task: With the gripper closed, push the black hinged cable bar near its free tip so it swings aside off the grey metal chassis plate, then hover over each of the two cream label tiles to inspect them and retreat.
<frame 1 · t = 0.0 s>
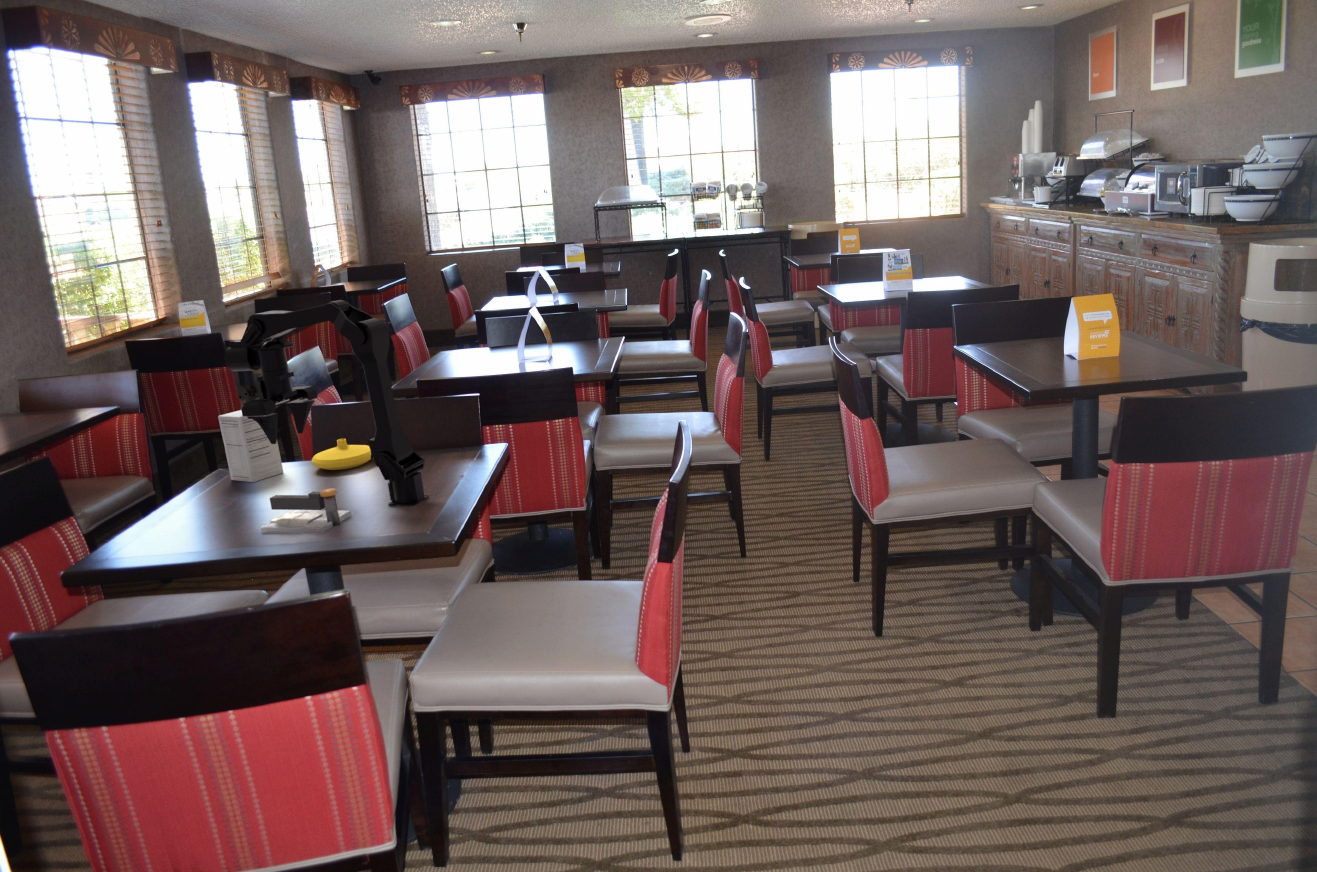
hand: (287, 438, 212), 15 cm above the table, fingers open, 9 cm apart
supplement box: (257, 477, 242), on the table
cable bar: (304, 499, 196), point 5 cm above the table, hinge at 0.0°
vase: (345, 467, 245), on the table
chassis: (307, 524, 198), on the table
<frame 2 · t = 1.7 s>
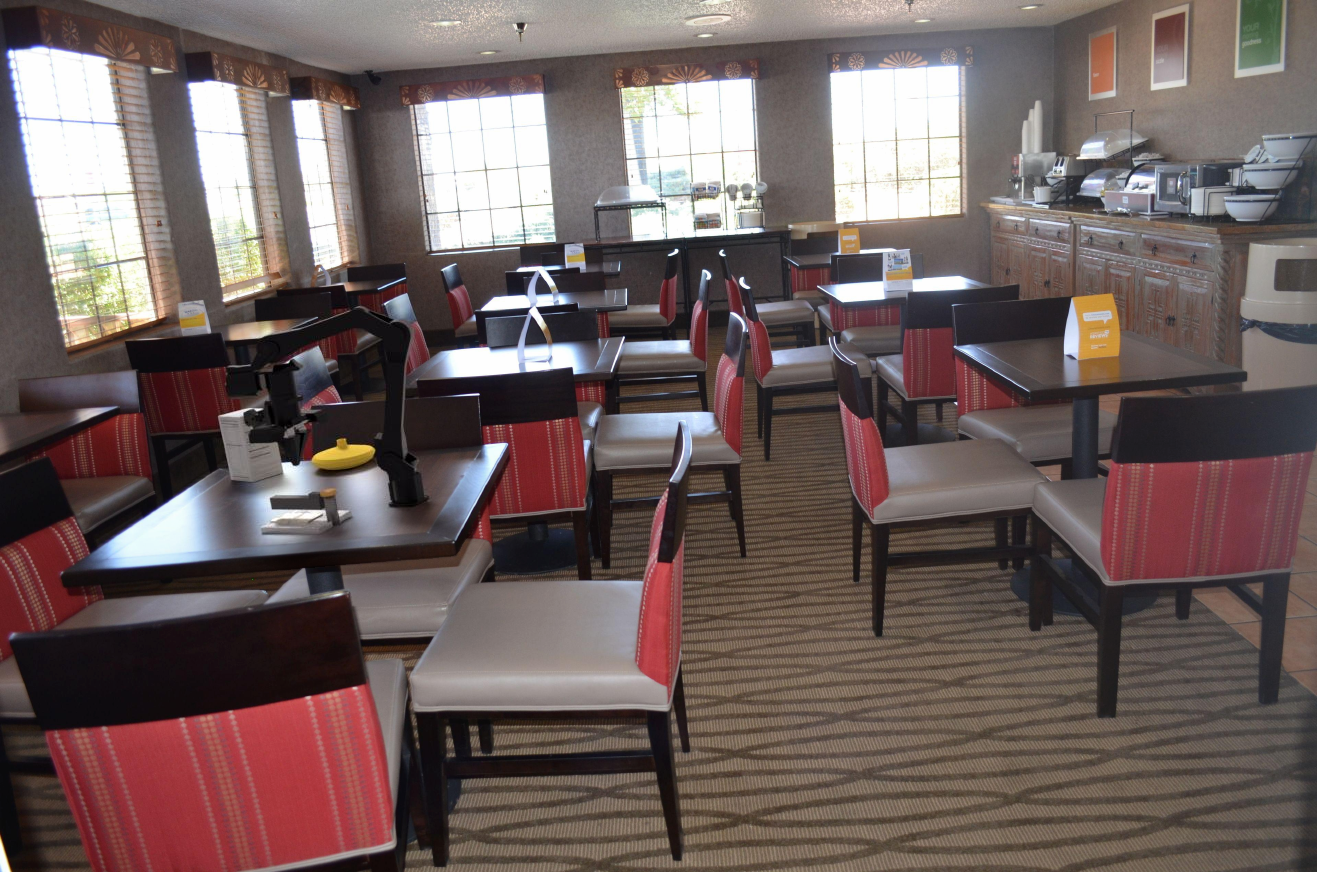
hand: (296, 465, 202), 11 cm above the table, fingers closed
nothing on the table moved.
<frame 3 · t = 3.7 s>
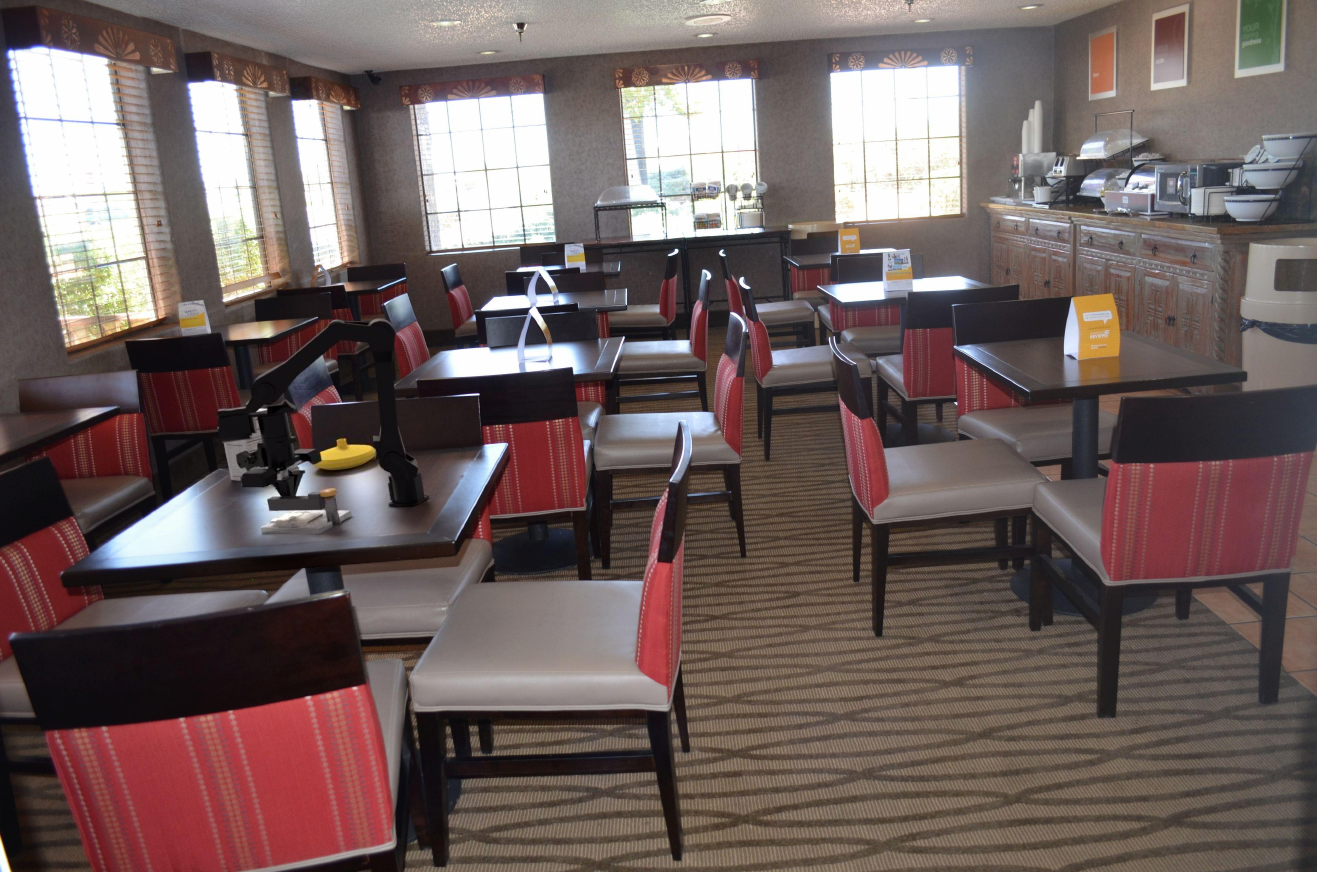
hand: (289, 506, 200), 3 cm above the table, fingers closed
cable bar: (303, 500, 196), point 5 cm above the table, hinge at 3.8°, touching gripper
everything else where it was.
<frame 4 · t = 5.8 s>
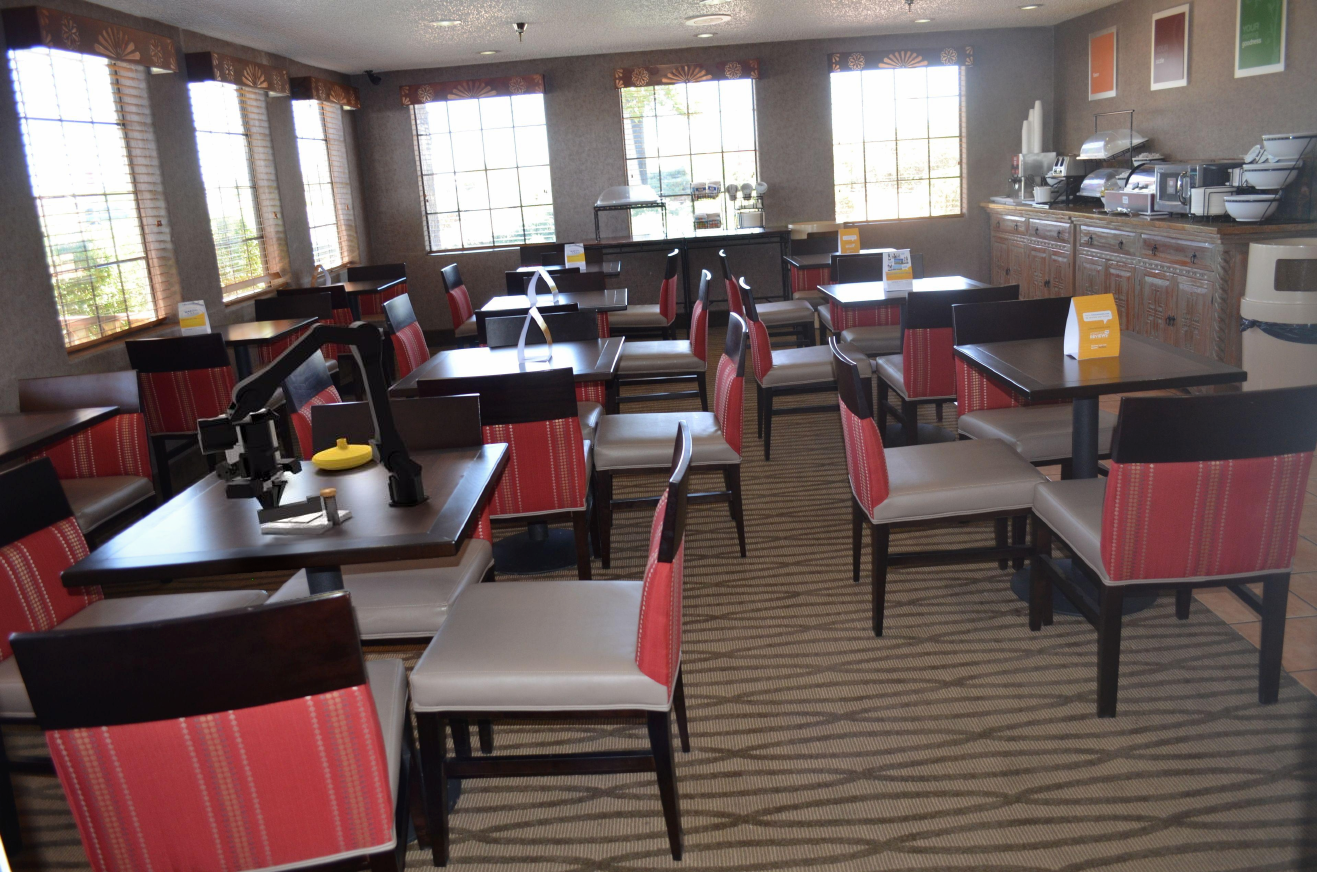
hand: (272, 518, 193), 3 cm above the table, fingers closed
cable bar: (298, 505, 192), point 5 cm above the table, hinge at 42.5°, touching gripper
everything else where it was.
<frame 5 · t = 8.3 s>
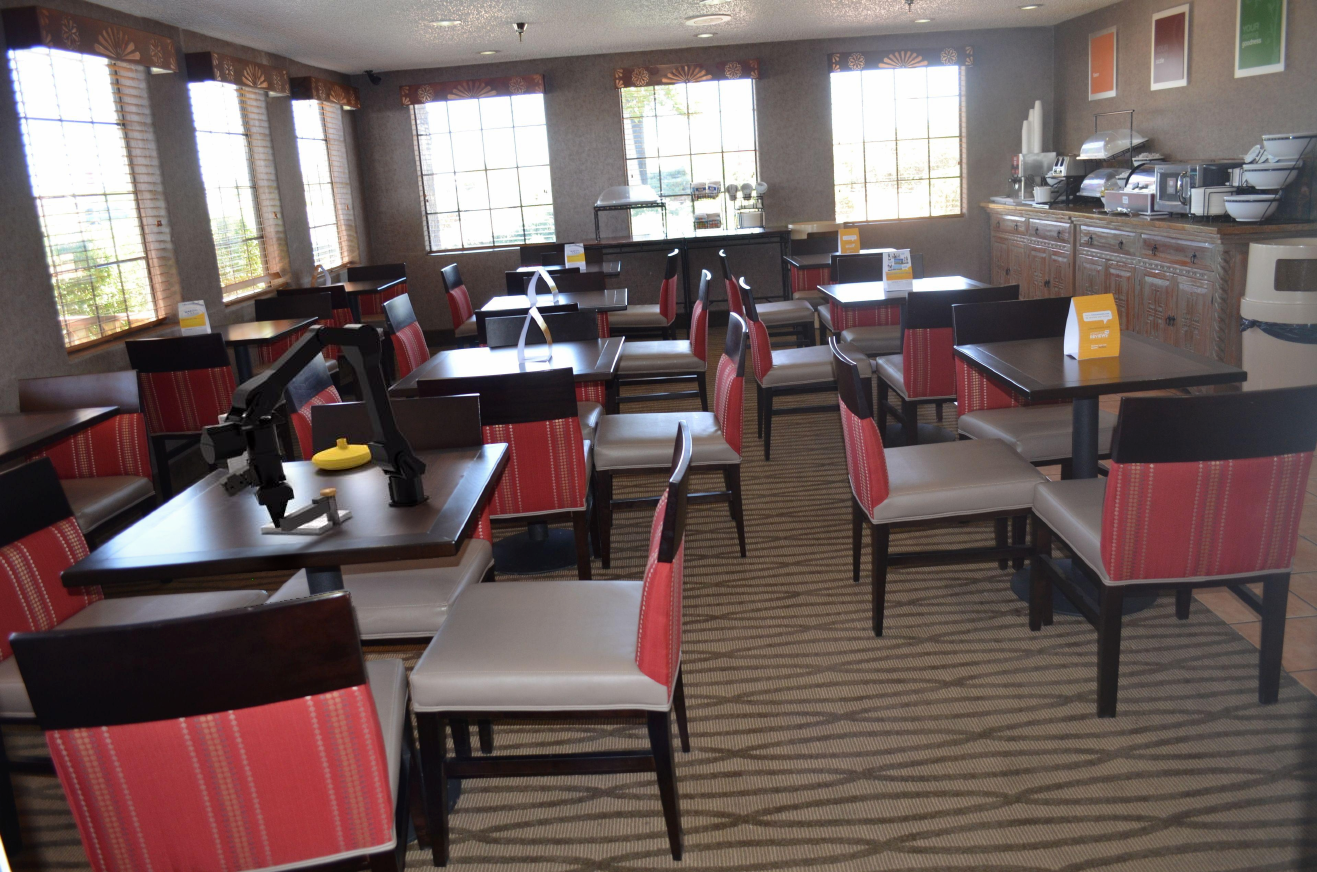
hand: (278, 527, 185), 3 cm above the table, fingers closed
cable bar: (310, 509, 189), point 5 cm above the table, hinge at 88.2°
everything else where it was.
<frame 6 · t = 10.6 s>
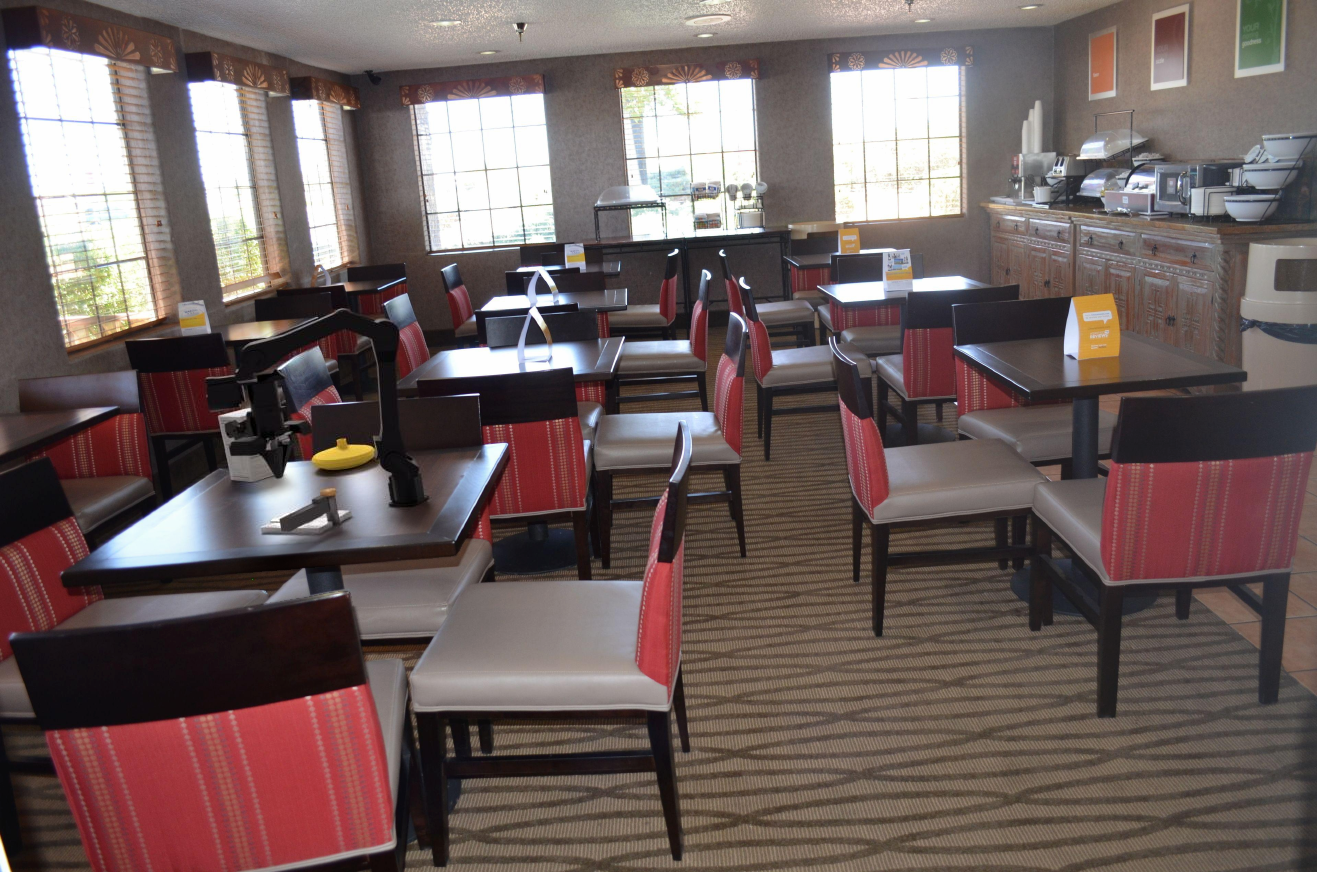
hand: (279, 478, 197), 10 cm above the table, fingers closed
nothing on the table moved.
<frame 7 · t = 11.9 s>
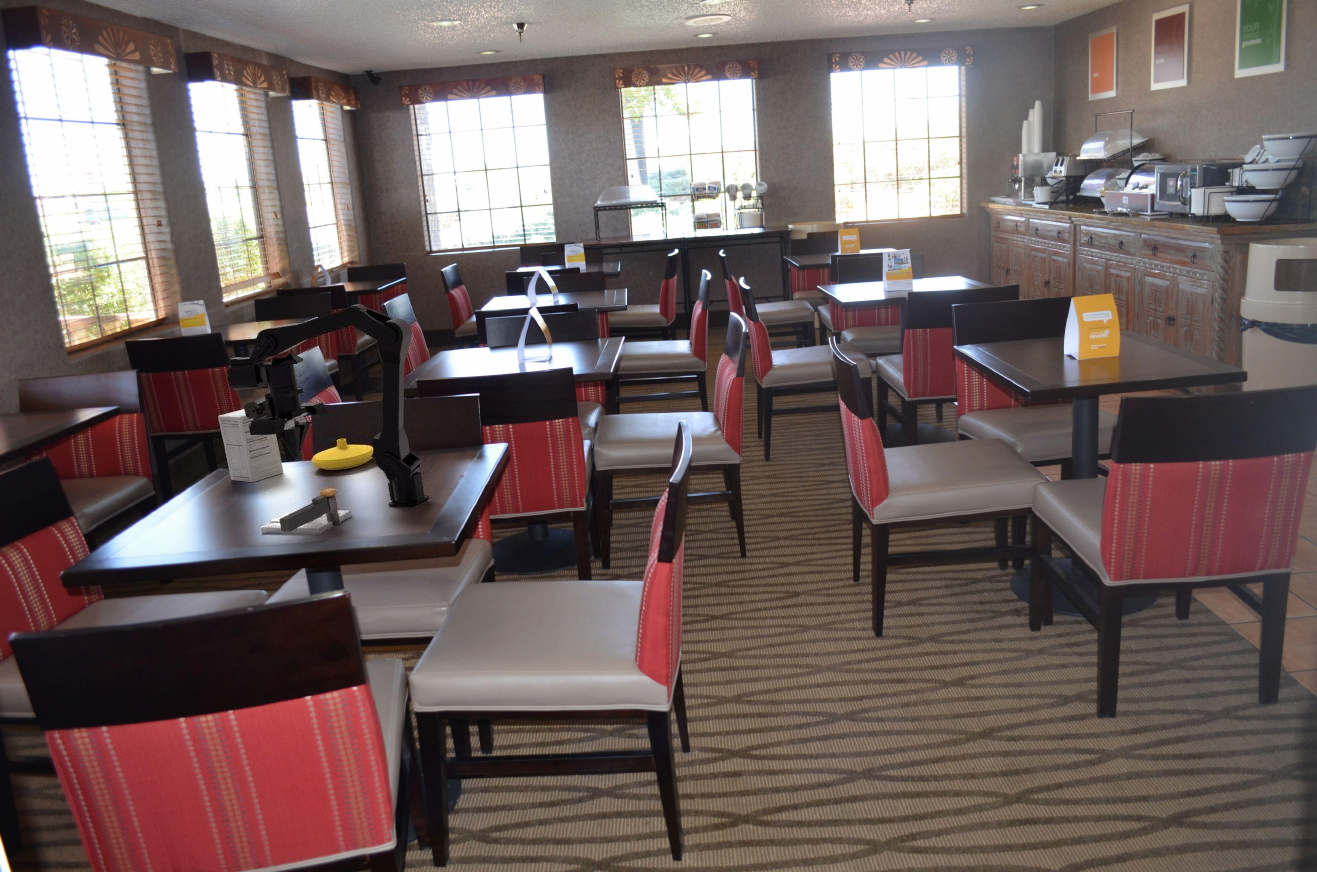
hand: (296, 457, 205), 12 cm above the table, fingers closed
nothing on the table moved.
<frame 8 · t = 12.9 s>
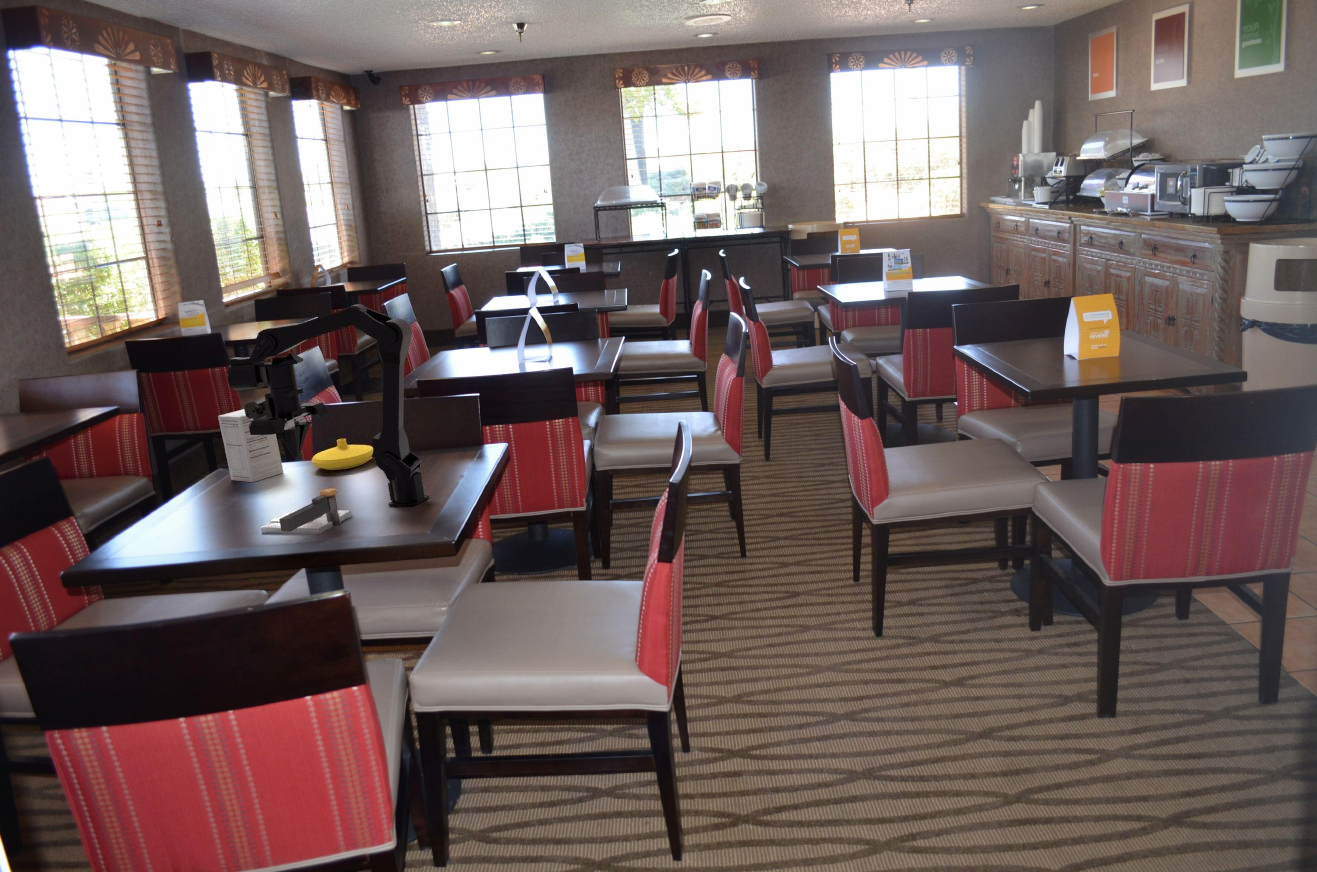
hand: (296, 457, 205), 12 cm above the table, fingers closed
nothing on the table moved.
at the end: cable bar at +88° (first picture: +0°); cable bar touching nothing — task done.
